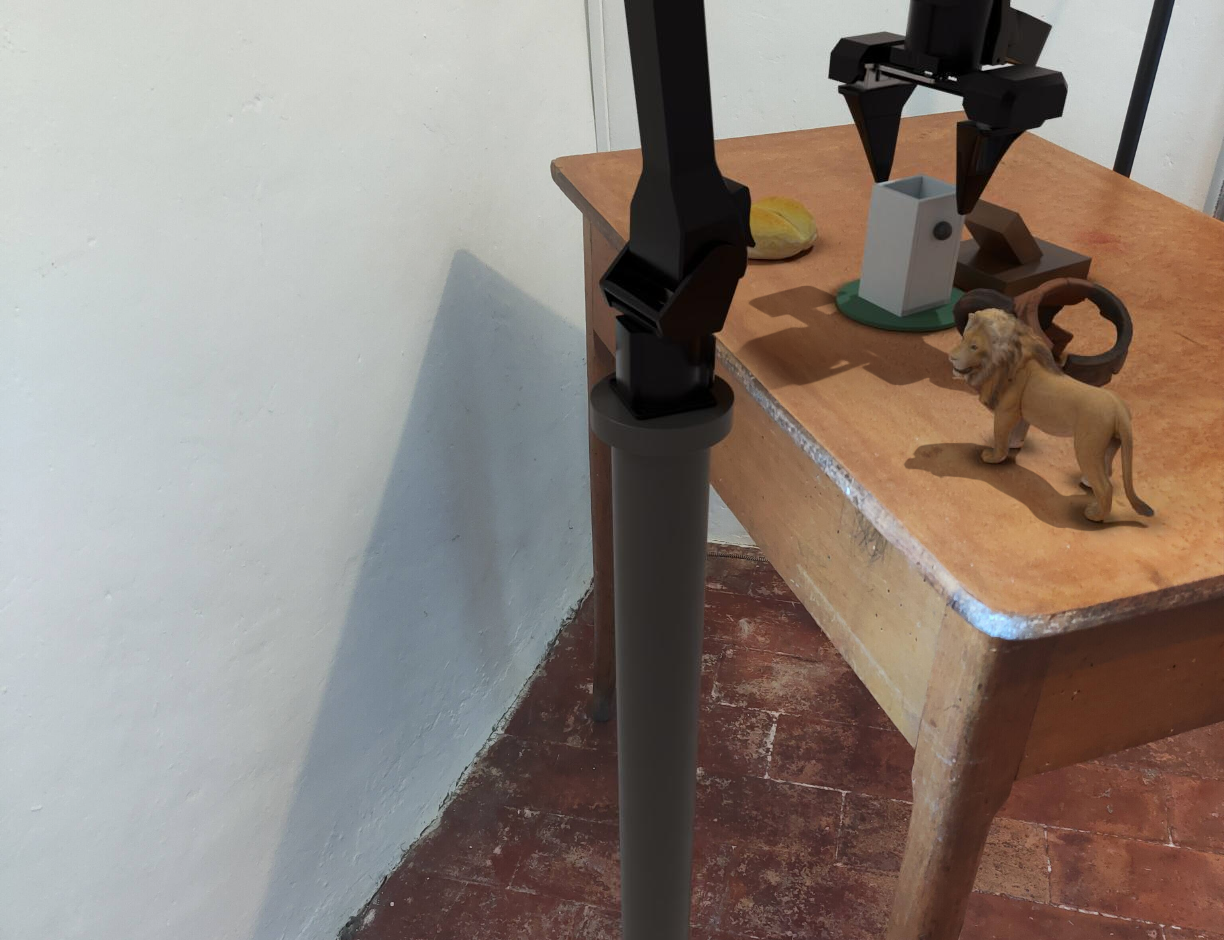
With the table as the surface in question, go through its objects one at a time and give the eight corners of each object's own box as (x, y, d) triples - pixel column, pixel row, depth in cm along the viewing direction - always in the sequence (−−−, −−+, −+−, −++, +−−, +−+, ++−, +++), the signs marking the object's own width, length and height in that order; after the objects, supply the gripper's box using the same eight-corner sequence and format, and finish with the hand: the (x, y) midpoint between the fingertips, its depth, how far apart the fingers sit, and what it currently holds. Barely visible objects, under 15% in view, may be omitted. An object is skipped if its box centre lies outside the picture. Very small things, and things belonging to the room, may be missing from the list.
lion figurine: (918, 444, 70) (942, 312, 64) (967, 418, 72) (994, 289, 67) (1127, 540, 60) (1176, 396, 55) (1175, 507, 63) (1226, 366, 57)
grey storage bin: (874, 277, 79) (961, 163, 78) (812, 248, 84) (893, 141, 83) (929, 345, 86) (1010, 242, 85) (869, 314, 91) (944, 216, 90)
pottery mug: (1098, 359, 80) (1157, 288, 72) (1071, 460, 76) (1131, 397, 69) (946, 304, 81) (989, 229, 73) (913, 402, 77) (954, 333, 70)
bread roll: (701, 247, 99) (702, 204, 96) (764, 224, 104) (767, 182, 101) (768, 270, 94) (772, 224, 92) (832, 245, 99) (837, 201, 96)
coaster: (880, 340, 82) (881, 336, 82) (812, 290, 90) (812, 286, 90) (1000, 319, 85) (1001, 314, 85) (924, 272, 93) (924, 267, 93)
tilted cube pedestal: (1001, 305, 87) (1019, 225, 83) (924, 271, 93) (937, 195, 89) (1086, 281, 91) (1107, 202, 87) (1007, 250, 97) (1023, 175, 93)
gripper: (1152, -32, 69) (1090, 211, 79) (948, -59, 82) (916, 153, 92) (1030, -15, 65) (980, 240, 75) (835, -46, 78) (814, 174, 88)
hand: (921, 197), depth 82 cm, fingers open, 9 cm apart
